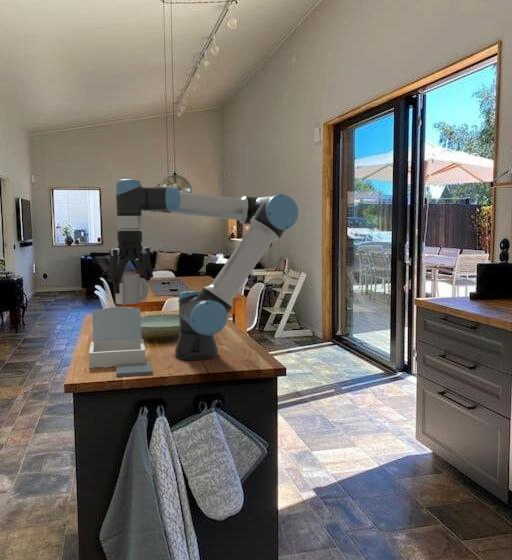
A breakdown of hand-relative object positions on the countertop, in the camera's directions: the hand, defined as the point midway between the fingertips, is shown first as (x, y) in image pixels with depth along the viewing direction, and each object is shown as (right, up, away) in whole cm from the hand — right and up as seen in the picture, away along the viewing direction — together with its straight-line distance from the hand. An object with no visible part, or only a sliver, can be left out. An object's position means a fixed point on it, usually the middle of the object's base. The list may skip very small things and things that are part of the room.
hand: (131, 302), depth 177 cm
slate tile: (0, -22, +2) cm, 22 cm away
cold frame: (-9, -20, +19) cm, 29 cm away
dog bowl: (-27, -13, +91) cm, 96 cm away
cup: (0, 0, 0) cm, 1 cm away
